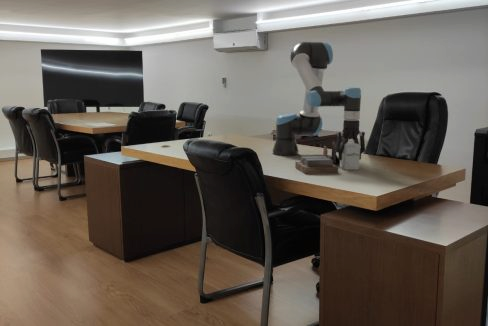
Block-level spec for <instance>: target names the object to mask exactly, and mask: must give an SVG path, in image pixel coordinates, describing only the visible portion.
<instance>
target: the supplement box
mask: <svg viewBox="0 0 488 326" xmlns="http://www.w3.org/2000/svg"><path fill="white" fill-rule="evenodd" d="M341 144H342V143H341ZM360 148H361V146H360V143H359V144H356V143H354V142H347V143H346V144H345V145H344V150H343V154H344V162H343V167H341V166H339V168H340V169H343V170H344V171H348V170H350V171H351V170H352V171H353V170H357V171H358V170H359V169H360Z"/></svg>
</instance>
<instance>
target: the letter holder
mask: <svg viewBox="0 0 488 326" xmlns="http://www.w3.org/2000/svg"><path fill="white" fill-rule="evenodd" d="M343 138H344V135H342V136H341V143H342V142H343ZM341 143H340V146H341ZM335 147H336V141H334V140H333V141H331V157H328V152H329V151H328V148H327V146H326V145H323V154H322V156H325V157H327V158H330V159H332V160H333V165H335V166H337V167H340V160H339V159H338V154H337V152H335Z"/></svg>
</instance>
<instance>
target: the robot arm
mask: <svg viewBox="0 0 488 326" xmlns="http://www.w3.org/2000/svg"><path fill="white" fill-rule="evenodd" d="M289 56H290V57H289V58H290V63H291V65H292V66H293V68H295V69H296V70H297V74H298V75H299V77H300V78H301V81H302V83H303V85H304V87H305V93H304V99H303V106H302V110H300V111H299V115H297V113H284V114H280V115H278V116H277V117H276V121H275V142H274V145H273V148H272V155H276V156H287V157H288V156H290V157H291V156H297V155H299V152H300V151H299V147H298V143H297V137H303V136H304V137H305V136H307V137H308V136H309V137H312V136H317V135H319V133H320V132H321V131H322V128H323V119H322V117H321V114H320V112H319V107H320V108H321V107H343V108H344V109H343V119H344V120H343V127H342V131H337V132H336V137H337V138H336V141H335V144H336V147H335V152H336V153H338V155H337V157H338V159H339V160H340V166H341V167H343V162H344V154H343V150H344V145H345V144H346V143H348V142H349V140H351V139H352V141H353V143H356V144H360V160H361V159H362V154H363V153H365V152H366V144H365V143H366V142H365V135H366V132H364V131H360V118H361V116H360V115H361V101H362V89H361V88H360V87H346V88H344V89H345V90H344V91H343V90H334V91H333V90H324V88H323V85H322V84H323V78H324V72H325V71H326V70H327V69H328V65H330V64H332V62H333V60H334V52H333V48H332V45H330V44H329V43H328V42H322V41H320V42H319V41H317V42H315V41H313V42H312V41H302V42H298V43H297V44H295V46H294V47H293V48H292V49H291V52H290V55H289ZM341 136H343V137H344V138H343V142H342V144H341V146H340V143H341ZM358 136H359V138H358ZM360 160H359V161H360ZM340 166H339V167H340Z"/></svg>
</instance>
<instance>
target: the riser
mask: <svg viewBox="0 0 488 326" xmlns="http://www.w3.org/2000/svg"><path fill="white" fill-rule="evenodd" d="M327 157H328V156H327ZM327 157H325V156H323V155H311V156H310V155H309V156H306V155H305V156H304V155H303V156H301V155H300V161H295V167H294V168H295V169H296V170H298V171H300V172H301V173H303V174H304V175H317V174H318V175H319V174H320V175H324V174H325V175H326V174H327V175H328V174H330V173H331V174H339V166H335V165H333V160H332V159H330V158H331V157H328V158H327Z"/></svg>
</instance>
